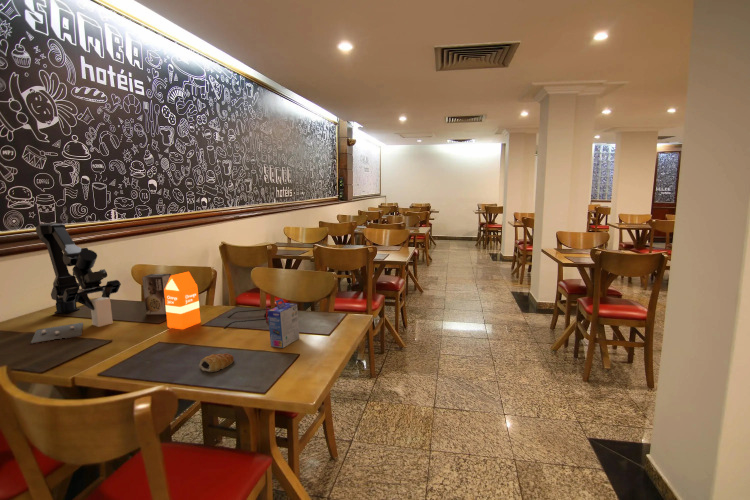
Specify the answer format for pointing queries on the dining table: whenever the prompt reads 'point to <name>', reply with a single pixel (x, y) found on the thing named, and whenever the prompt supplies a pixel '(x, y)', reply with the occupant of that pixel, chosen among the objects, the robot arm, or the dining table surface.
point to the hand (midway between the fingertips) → (101, 307)
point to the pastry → (216, 362)
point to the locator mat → (63, 332)
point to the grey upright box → (155, 292)
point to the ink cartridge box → (283, 324)
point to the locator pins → (57, 331)
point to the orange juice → (182, 301)
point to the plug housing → (101, 311)
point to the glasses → (250, 320)
